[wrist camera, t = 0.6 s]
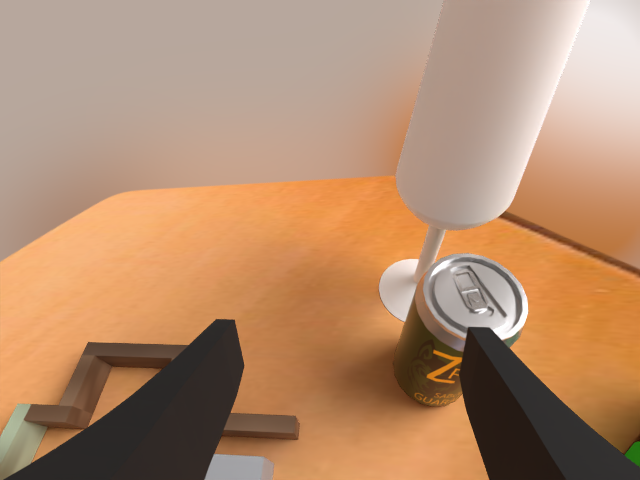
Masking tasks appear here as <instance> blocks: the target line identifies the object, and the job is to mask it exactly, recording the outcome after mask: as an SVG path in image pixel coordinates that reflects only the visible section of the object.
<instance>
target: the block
mask: <svg viewBox="0 0 640 480" xmlns="http://www.w3.org/2000/svg"><path fill="white" fill-rule="evenodd" d="M273 470H274V463H272V462H271V461H269V460H268V459H266V458H265V457H260V456H241V455H222V454H214V456H213V458H212V461H211V463H210V466H209V468H208V471H207V474H206V477H205V480H273Z"/></svg>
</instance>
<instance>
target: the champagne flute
mask: <svg viewBox="0 0 640 480" xmlns="http://www.w3.org/2000/svg"><path fill="white" fill-rule="evenodd" d="M589 3H590V0H444V2H443V5H442V9H441V12H440V16H439V20H438V23H437V27H436V30H435V34H434V38H433V41H432V45H431V48H430V52H429V55H428V59H427V63H426V66H425V70H424V74H423V77H422V81H421V84H420V88H419V91H418V95H417V99H416V102H415V107H414V110H413V113H412V117H411V120H410V124H409V128H408V131H407V134H406V138H405V142H404V145H403V149H402V153H401V156H400V160H399V163H398V167H397V171H396V185H397V189H398V192H399V195H400V197H401V198H402V200H403V202H404V203H405V205H406V206H407V208H408V209H409V210H410V211H411V212H412V213H413V214H414V215H415V216H416V217H417V218H418V219H420V220H421V221H423V222H424V223H426V224H428V225H429V228H428V231H427V234H426V238H425V241H424V244H423V248H422V251H421V254H420V258H419V260H418V259H407V260H402V261H399V262H396V263H394V264H392V265H391V266H390V267H388V268H387V269H386V270H385V272H384V273H383V274H382V277H381V279H380V283H379V293H380V297H381V300H382V302H383V304H384V305H385V307H386V308H387V309H388V311H389V312H390V313H392V314H393V315H394V316H395V317H397V318H398V319H400V320H402V321H404V322H405V320H406V317H407V314H408V311H409V308H410V305H411V302H412V299H413V296H414V293H415V290H416V287H417V284H418V283H419V281H420V279H421V277H422V276H423V274H424V273H425V272H427V271H428V270H429V268H430V267H431V266H432V265H433V264H434V262H435V260H436V257H437V254H438V251H439V249H440V246H441V243H442V240H443V238H444V235H445V232H446V230H465V229H470V228H474V227H478V226H481V225H483V224H486V223H488V222H490V221H492V220H493V219H495V218H497V217H499V216H500V215H501V214H502V213H503V212H504V211H505V210H506V209H507V208H508V207H509V206H510V204H511V202H512V200H513V198H514V196H515V193H516V191H517V188H518V186H519V183H520V181H521V178H522V175H523V173H524V170H525V168H526V165H527V163H528V160H529V157H530V155H531V152H532V150H533V147H534V144H535V142H536V139H537V137H538V134H539V132H540V129H541V126H542V124H543V121H544V119H545V116H546V113H547V111H548V108H549V106H550V103H551V101H552V98H553V96H554V93H555V90H556V88H557V85H558V83H559V80H560V78H561V75H562V72H563V70H564V67H565V65H566V62H567V59H568V57H569V54H570V52H571V49H572V47H573V44H574V41H575V39H576V36H577V34H578V31H579V29H580V26H581V23H582V21H583V18H584V16H585V13H586V11H587V8H588V5H589Z"/></svg>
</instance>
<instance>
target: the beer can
mask: <svg viewBox="0 0 640 480" xmlns="http://www.w3.org/2000/svg"><path fill="white" fill-rule="evenodd" d="M527 314H528V302H527V297H526V294H525V292H524V290H523V287H522V285H521V284H520V282H519V281H518V280H517V279H516V278H515V276H514V275H513V274H512V273H511V272H510V271H509V270H507V269H506V268H505V267H503V266H502V265H500V264H499V263H498V262H495V261H493V260H491V259H488V258H486V257H484V256H480V255H474V254H469V253H464V254H452V255H449V256H446V257H443V258H441V259H439V260H438V261H437V262H436V263H434V264H433V265H432V266H431V267H430V268H429V270H428V271H427V272H425V273H424V274H423V276H422V277H421V279H420V281H419V283H418V284H417V287H416V290H415V293H414V296H413V299H412V302H411V305H410V308H409V311H408V314H407V317H406V320H405V323H404V327H403V330H402V333H401V336H400V339H399V342H398V345H397V348H396V351H395V355H394V361H393V366H394V373H395V377H396V379H397V381H398V383H399V385H400V387H401V388H402V389H403V390H404V391H405V392H406V393H407V395H408V396H410V397H411V398H413V399H414V400H416V401H417V402H419V403H421V404H425V405H428V406H432V407H434V406H445V405H448V404H450V403H453V402H455V401H456V400H457V399H458V398H459V397H460V396H461V395H462V394H463V393H462V388H461V383H460V378H459V372H460V367H461V362H462V356H463V351H464V346H465V341H466V335H467V330H468V327H490V328H491V329H492V330H493V331H494V332H495V333H496V334H497V335H498V337H499V338H500V339H501V340H502V341H503V342H504V343H505V344H506V345H507V346H508V347H509V348H510V347H511V346H512V345H513V344H514V342H515V341H516V340H517V339H518V338H519V337H520V335H521V332H522V330H523V327H524V324H525V320H526V317H527Z"/></svg>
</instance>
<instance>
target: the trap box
mask: <svg viewBox="0 0 640 480" xmlns="http://www.w3.org/2000/svg"><path fill="white" fill-rule="evenodd" d="M187 346H188V345H163V344H130V343H97V342H88V343H87V346H86V348H85V350H84V352H83V354H82V356H81V358H80V361H79V363H78V365H77V367H76V369H75V371H74V373H73V375H72V378H71V380H70V382H69V384H68V386H67V388H66V390H65V393H64V395H63V397H62V399H61V401H60V403H59V405H38V404H17V406H16V408H15V410H14V412H13V414H12V416H11V417H10V419H9V421H8V423H7V425H6V427H5V429H4V431H3V432H2V434H1V436H0V480H3V479H5V478H7V477H9V476H10V475H12V474H14V473H16V472H17V471H19V470H21V469H23V468H24V467H26V466H28V465H29V464H31V462H32V460H33V458H34V456H35V453H36V451H37V449H38V447H39V445H40V443H41V441H42V438H43V436H44V434H45V432H46V430H47V428H48V427H55V428H76V429H86V428H87V427H88V424H89V422H90V419H91V417H92V415H93V412H94V410H95V407H96V405H97V402H98V400H99V397H100V395H101V392H102V390H103V388H104V385H105V383H106V380H107V378H108V375H109V373H110V370H111V368H112V366H113V367H141V368H165V367H166V366H167V365H168V364H169V363H170V362H171V361H172V360H173V359H174V358H176V357H177V356H178V355H179V354H180V353H181V352H182V351H183V350H184V349H185V348H186V347H187ZM221 436H238V437H258V438H278V439H298V436H299V422H298V420H297V418H296V416H286V415H263V414H240V413H230V415H229V417H228V420H227V422H226V425H225V428H224V430H223V433H222V435H221Z"/></svg>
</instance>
